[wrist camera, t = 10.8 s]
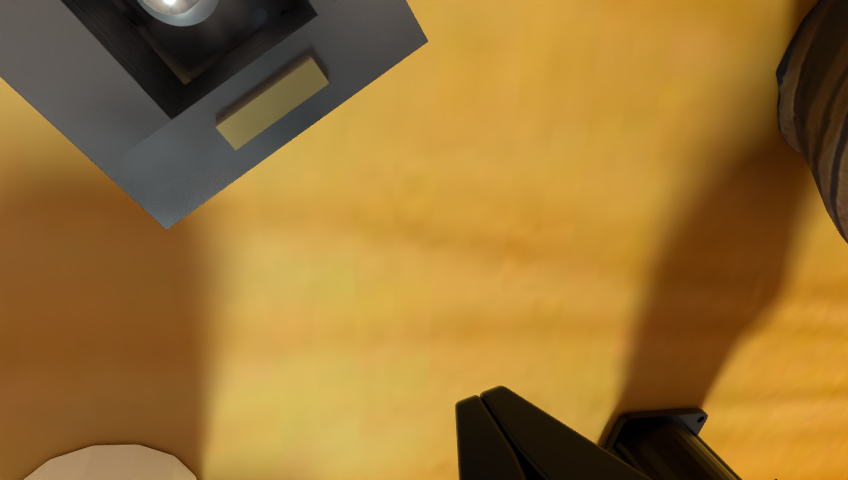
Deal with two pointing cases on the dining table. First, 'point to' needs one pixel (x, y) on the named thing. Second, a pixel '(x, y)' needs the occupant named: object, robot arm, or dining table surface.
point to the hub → (199, 28)
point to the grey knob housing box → (193, 89)
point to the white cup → (113, 465)
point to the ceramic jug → (820, 103)
